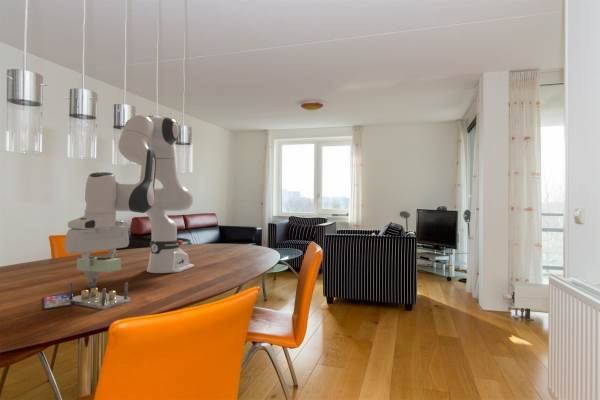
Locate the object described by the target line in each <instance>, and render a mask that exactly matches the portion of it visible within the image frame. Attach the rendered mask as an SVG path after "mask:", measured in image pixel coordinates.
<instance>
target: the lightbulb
mask: <svg viewBox="0 0 600 400" xmlns="http://www.w3.org/2000/svg"><path fill="white" fill-rule="evenodd" d="M82 271H83V273H84V275H85V277H86V282H87V287H88V288H89V289H91V288H92V285H93V278H96V281H97V280H98V276H99V273H100V272H96V271H85V270H82Z"/></svg>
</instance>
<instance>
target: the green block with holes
mask: <svg viewBox="0 0 600 400" xmlns="http://www.w3.org/2000/svg"><path fill="white" fill-rule="evenodd" d="M88 257H89V258H90V260H93V265H92V266H88V267H87V266H85V261H84V259H83V258H81V257H79V258H77V259H76V271H83V270H85V271H96V272H99V273H111V272H114V271H115V272H116V271H120V270H122V258H119V257H118V258H117V257H113V258H111V257H108V256H104V255H103V256H92V255H91V256H90V255H89V256H88Z"/></svg>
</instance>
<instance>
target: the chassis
mask: <svg viewBox="0 0 600 400" xmlns="http://www.w3.org/2000/svg"><path fill="white" fill-rule="evenodd" d="M68 286H69V288H68V294H69V298H68V299H66V301H71V302H72V305H79V306H84V307H87V308H93V309H99V310H107V309H109V308H112V307H116V306H119V305H122V304H125V303H128V302H131V301H132V300H131V298H132V297H129V295H128V294H129V282H124V289H123V292H124V295H117V291H116V290H109V291H108V293H107V288H105V287H104V288H102V289H101V290H102V291H101V292H100V291H99V289H98V287H97V280H96V278H93V285H92V288H90V290H89V289H83V290H81V295H75V296H74V283H73V282H69V285H68Z"/></svg>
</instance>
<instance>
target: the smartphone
mask: <svg viewBox="0 0 600 400" xmlns="http://www.w3.org/2000/svg"><path fill="white" fill-rule="evenodd" d="M68 298H69V293H61V294H53V295H47V296H43V297H42V311H47V310H56V309H63V308H64V309H65V308H70V307H73V304H72V302H71V301H66V299H68Z"/></svg>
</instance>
